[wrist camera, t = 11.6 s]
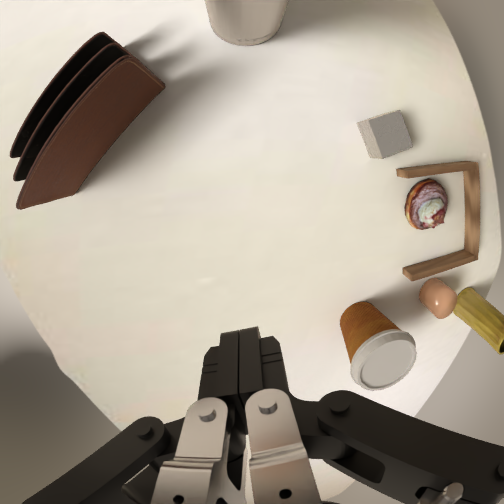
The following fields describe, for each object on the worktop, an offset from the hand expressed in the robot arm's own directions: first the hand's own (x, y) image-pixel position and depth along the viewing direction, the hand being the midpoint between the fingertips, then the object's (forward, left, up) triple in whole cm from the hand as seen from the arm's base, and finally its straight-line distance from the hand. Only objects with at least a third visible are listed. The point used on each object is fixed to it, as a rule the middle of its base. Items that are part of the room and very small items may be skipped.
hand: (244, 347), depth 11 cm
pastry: (+4, +27, -27) cm, 38 cm away
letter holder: (-18, -17, -27) cm, 37 cm away
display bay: (+6, +29, -27) cm, 40 cm away
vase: (+24, +37, -27) cm, 52 cm away
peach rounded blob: (+19, +28, -27) cm, 43 cm away
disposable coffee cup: (+20, +14, -27) cm, 37 cm away
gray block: (-7, +20, -27) cm, 34 cm away
